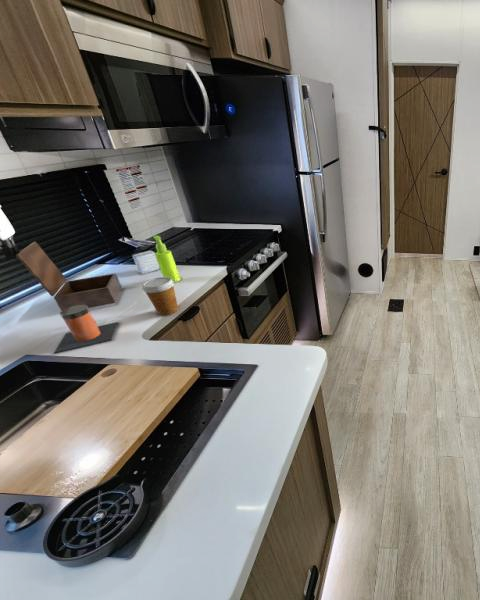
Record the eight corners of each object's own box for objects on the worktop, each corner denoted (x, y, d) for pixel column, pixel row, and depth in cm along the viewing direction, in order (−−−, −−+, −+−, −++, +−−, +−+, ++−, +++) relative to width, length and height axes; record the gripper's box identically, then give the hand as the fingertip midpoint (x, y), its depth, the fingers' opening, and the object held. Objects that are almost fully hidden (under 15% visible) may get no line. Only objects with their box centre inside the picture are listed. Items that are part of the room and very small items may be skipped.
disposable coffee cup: (174, 302, 129) (163, 274, 123) (188, 308, 124) (177, 279, 119) (148, 313, 122) (135, 284, 116) (161, 320, 117) (149, 290, 112)
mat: (54, 353, 101) (54, 352, 101) (66, 334, 110) (66, 333, 110) (111, 340, 107) (111, 339, 106) (118, 322, 116) (117, 322, 116)
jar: (72, 344, 104) (56, 317, 99) (78, 333, 109) (63, 307, 105) (98, 338, 107) (84, 311, 102) (103, 328, 112) (89, 302, 107)
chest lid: (35, 241, 121) (32, 242, 121) (18, 254, 109) (15, 255, 109) (67, 279, 130) (64, 280, 130) (54, 295, 118) (51, 296, 117)
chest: (122, 289, 140) (115, 273, 136) (116, 304, 128) (108, 287, 124) (75, 297, 133) (66, 281, 130) (63, 314, 121) (53, 297, 118)
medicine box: (157, 266, 161) (150, 250, 157) (161, 268, 159) (154, 251, 155) (138, 272, 156) (131, 254, 152) (142, 274, 153) (135, 256, 149)
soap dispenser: (177, 275, 152) (162, 233, 142) (182, 280, 147) (166, 236, 138) (163, 279, 148) (146, 236, 139) (167, 284, 144) (150, 239, 134)
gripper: (-23, 201, 110) (9, 253, 119) (-48, 210, 98) (-11, 267, 107) (8, 198, 113) (37, 249, 122) (-13, 207, 102) (20, 262, 110)
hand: (14, 257), depth 114 cm, fingers closed
